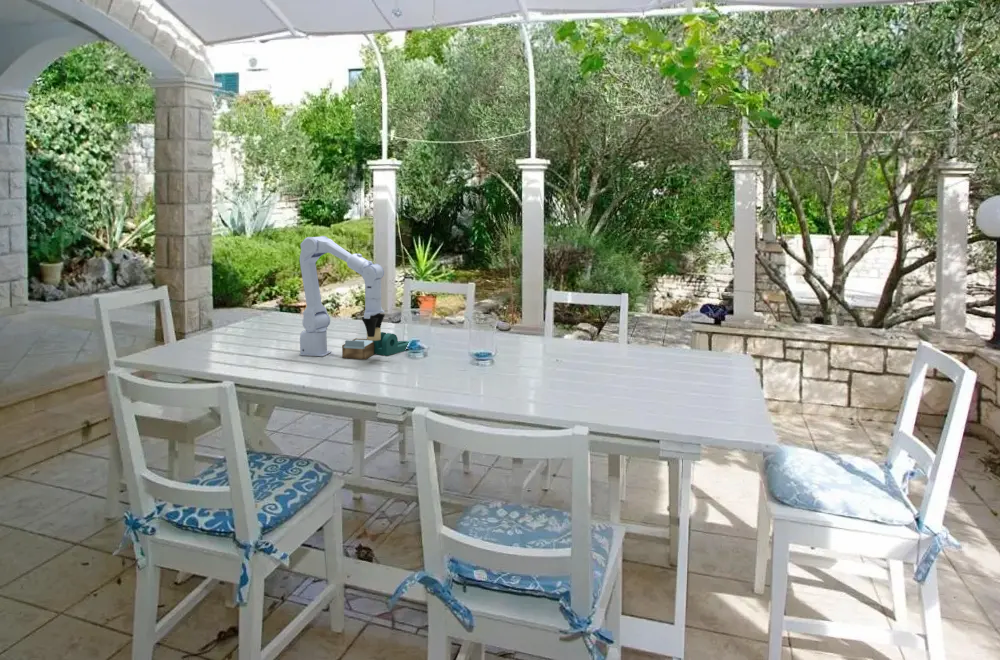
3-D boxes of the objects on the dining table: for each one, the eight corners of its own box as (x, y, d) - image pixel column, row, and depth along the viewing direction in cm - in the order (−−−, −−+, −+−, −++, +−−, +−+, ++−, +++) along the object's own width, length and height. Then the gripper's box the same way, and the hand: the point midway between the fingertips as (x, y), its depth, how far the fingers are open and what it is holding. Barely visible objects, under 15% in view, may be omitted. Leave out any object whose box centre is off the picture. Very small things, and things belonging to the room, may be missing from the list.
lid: (343, 347, 273) (343, 340, 273) (356, 341, 286) (356, 334, 285) (364, 349, 272) (364, 341, 271) (375, 342, 284) (375, 335, 284)
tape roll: (364, 340, 267) (364, 328, 267) (369, 337, 272) (369, 326, 272) (378, 340, 267) (378, 329, 266) (382, 338, 271) (382, 327, 271)
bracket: (386, 355, 279) (386, 335, 277) (372, 353, 282) (372, 333, 280) (415, 348, 294) (415, 328, 293) (401, 345, 297) (401, 326, 296)
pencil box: (342, 358, 274) (342, 345, 273) (355, 350, 287) (355, 338, 287) (365, 359, 272) (365, 346, 272) (378, 351, 286) (378, 339, 285)
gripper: (377, 301, 259) (377, 339, 261) (390, 295, 273) (390, 332, 276) (358, 300, 260) (358, 338, 263) (371, 295, 274) (372, 331, 277)
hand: (373, 335), depth 269 cm, fingers closed on tape roll, 5 cm apart
